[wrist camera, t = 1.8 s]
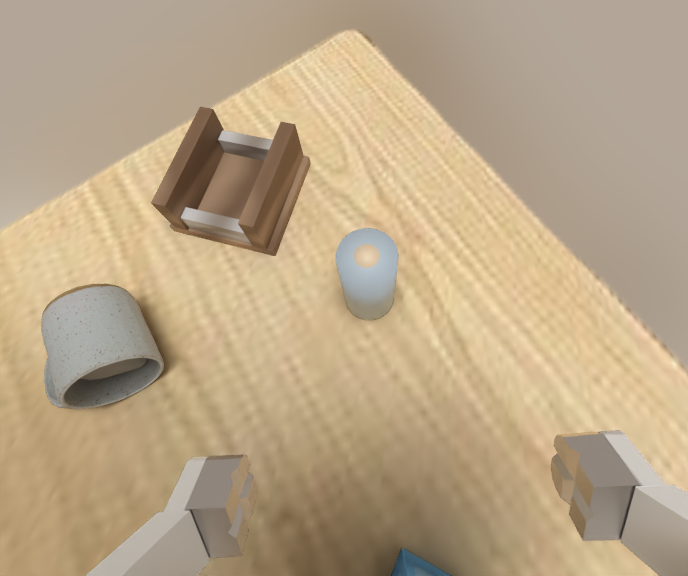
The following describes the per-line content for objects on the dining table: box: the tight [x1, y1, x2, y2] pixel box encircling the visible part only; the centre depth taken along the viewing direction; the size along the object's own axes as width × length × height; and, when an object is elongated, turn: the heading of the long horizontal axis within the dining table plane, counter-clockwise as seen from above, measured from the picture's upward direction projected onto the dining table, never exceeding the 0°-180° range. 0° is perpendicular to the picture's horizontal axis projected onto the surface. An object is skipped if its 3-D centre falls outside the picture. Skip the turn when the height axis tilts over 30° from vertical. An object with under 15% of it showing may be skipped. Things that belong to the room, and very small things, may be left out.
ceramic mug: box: [42, 284, 164, 409], centre depth 33 cm, size 11×8×8 cm
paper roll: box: [336, 228, 398, 320], centre depth 32 cm, size 4×4×9 cm
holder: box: [151, 107, 310, 256], centre depth 39 cm, size 11×11×6 cm
